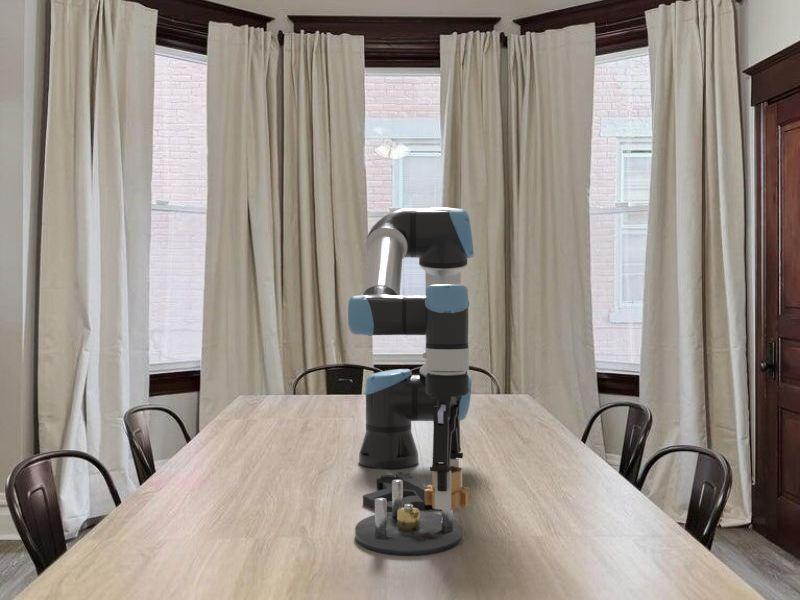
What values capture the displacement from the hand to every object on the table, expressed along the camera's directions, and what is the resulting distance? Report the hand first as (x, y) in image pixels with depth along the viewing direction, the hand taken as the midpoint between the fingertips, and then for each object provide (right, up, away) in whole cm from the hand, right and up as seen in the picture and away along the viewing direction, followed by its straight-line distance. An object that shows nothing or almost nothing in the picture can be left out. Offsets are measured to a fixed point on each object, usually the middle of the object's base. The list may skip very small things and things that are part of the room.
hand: (447, 501), depth 124 cm
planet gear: (0, 0, 0) cm, 0 cm away
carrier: (-7, -7, +2) cm, 10 cm away
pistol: (-10, -7, +26) cm, 29 cm away
